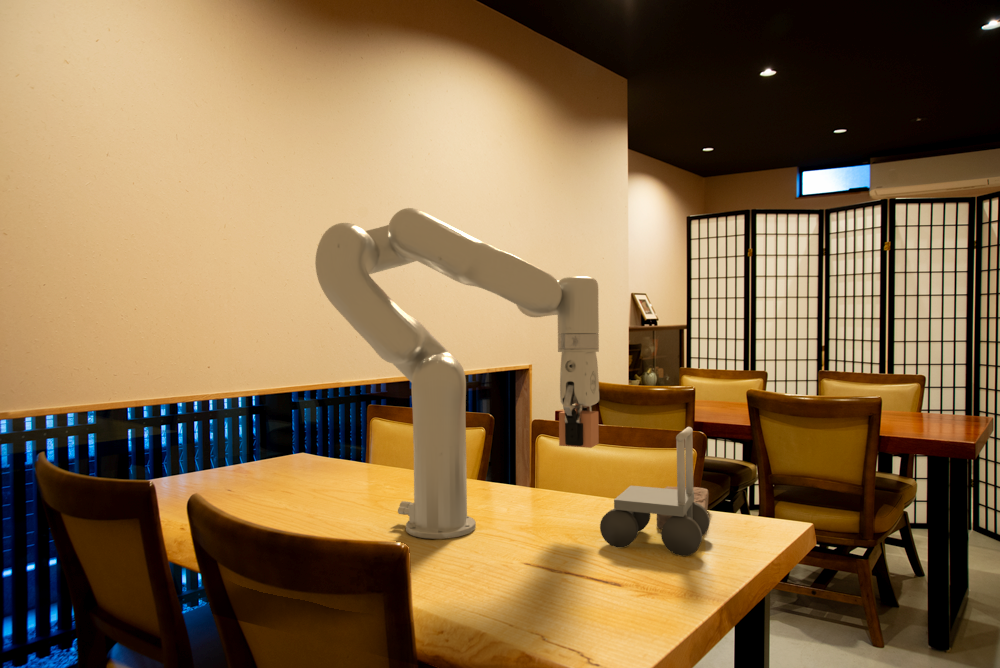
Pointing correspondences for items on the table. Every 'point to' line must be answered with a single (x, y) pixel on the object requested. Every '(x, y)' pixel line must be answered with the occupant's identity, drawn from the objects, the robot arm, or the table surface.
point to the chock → (589, 429)
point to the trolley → (661, 509)
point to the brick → (699, 498)
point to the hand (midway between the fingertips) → (578, 441)
